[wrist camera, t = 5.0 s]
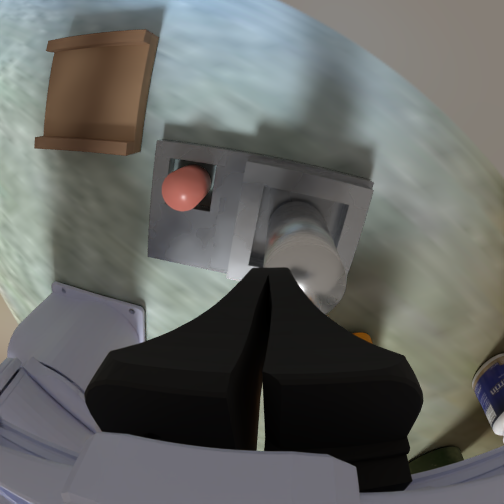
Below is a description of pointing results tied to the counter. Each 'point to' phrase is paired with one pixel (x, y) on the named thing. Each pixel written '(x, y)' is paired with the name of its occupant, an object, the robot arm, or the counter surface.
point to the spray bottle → (436, 459)
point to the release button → (186, 187)
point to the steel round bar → (306, 253)
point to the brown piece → (98, 92)
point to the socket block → (249, 207)
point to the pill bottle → (491, 391)
